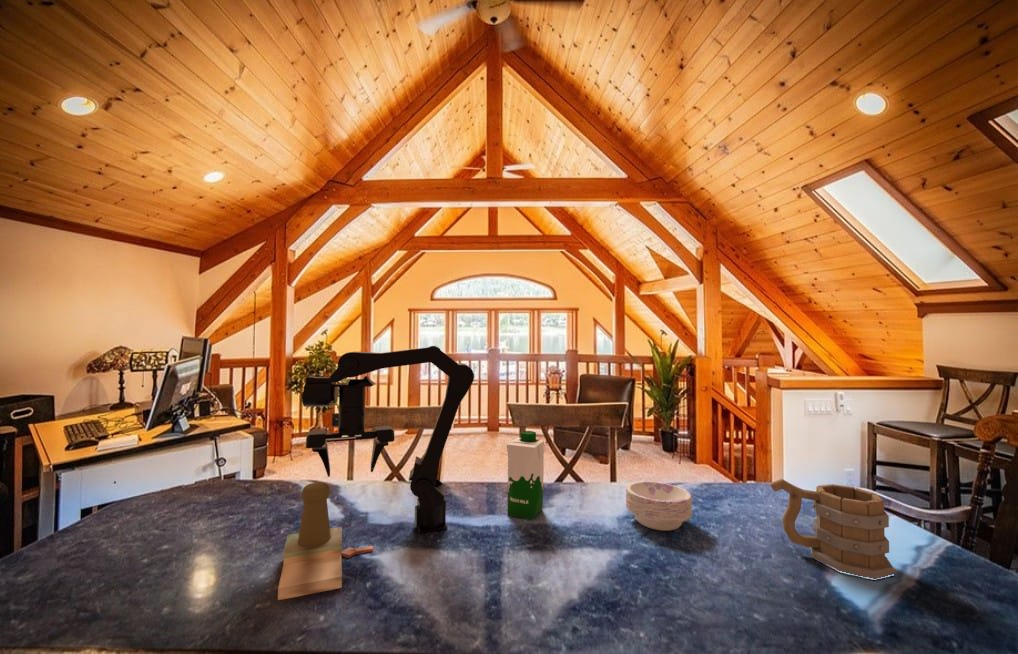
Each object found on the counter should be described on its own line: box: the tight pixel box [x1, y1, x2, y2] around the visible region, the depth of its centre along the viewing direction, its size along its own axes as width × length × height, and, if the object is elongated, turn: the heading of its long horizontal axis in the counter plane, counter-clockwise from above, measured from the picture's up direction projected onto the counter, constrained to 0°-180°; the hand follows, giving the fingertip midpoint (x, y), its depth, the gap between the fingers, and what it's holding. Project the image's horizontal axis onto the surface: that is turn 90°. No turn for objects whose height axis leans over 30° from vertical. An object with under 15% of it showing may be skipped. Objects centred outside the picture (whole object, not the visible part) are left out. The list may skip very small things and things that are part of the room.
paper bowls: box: [625, 480, 693, 532], centre depth 103 cm, size 15×15×8 cm
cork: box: [298, 481, 331, 547], centre depth 84 cm, size 6×6×11 cm
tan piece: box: [277, 526, 374, 601], centre depth 82 cm, size 16×16×4 cm
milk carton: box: [506, 430, 545, 521], centre depth 108 cm, size 9×9×20 cm
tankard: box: [769, 478, 896, 579], centre depth 87 cm, size 20×13×15 cm, turn 62°
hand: (350, 473), depth 97 cm, fingers open, 9 cm apart
